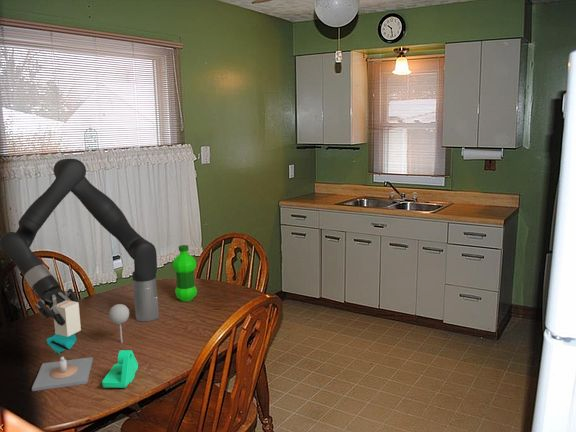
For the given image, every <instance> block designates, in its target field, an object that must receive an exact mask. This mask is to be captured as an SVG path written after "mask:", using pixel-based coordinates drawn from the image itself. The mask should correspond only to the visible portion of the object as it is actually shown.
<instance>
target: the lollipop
mask: <svg viewBox="0 0 576 432" xmlns="http://www.w3.org/2000/svg"><path fill="white" fill-rule="evenodd" d="M108 317H109V319H110V321H111V322H113V324H117V325H119V336H120V344H123V342H124V341H123V333H122V332H123V331H122V329H123V328H122V324H124V323H125V322H126V321H127V320H128V319H129V317H130V309H129V308H128V307H127V306H126V305H125V304H122V303H117V304H113V306H112V307H111V308H110V310H109V312H108Z"/></svg>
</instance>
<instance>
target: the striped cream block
mask: <svg viewBox="0 0 576 432" xmlns="http://www.w3.org/2000/svg"><path fill="white" fill-rule="evenodd" d="M56 309H57V310H58V314H59V313H60V315H61V316H62V317H63V319H64V320H65V324H64V325H62V326H61V325H59V324H58V323H57V322H56V321H55V319H54V318H53V323H54V332H55V334H58V335H62V336H66V337H68V336H70V335H72V334H74V333H76V334H77V333H79V332H81V331H82V328H81V327H82V326H81V312H80V304H79V301H78V302H74V301H70V300H69V301H64V302H61V303H59V304H57V306H56ZM53 312H54V311H53ZM79 312H80V313H79ZM55 334H54V335H55Z"/></svg>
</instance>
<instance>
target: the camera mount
mask: <svg viewBox="0 0 576 432" xmlns="http://www.w3.org/2000/svg"><path fill="white" fill-rule="evenodd" d="M138 369H139V363H138V361H137V358H136V357H135V354H134V352H133V350H131V349H130V350H129V349H128V350H126V349H125V350H124V349H123V350H122V349H121V350H119V351H118V355H117V363H115V364H113V366H112V367H111V369H110V370H109V372H107V374H106V375H105V376H104V378H103V379H102V380H101V383H102V387H103V388H117V389H118V388H121V389H122V388H124V389H125V388H127V386H128V385H130V384H131V383H132V382H133V380H134V378H135V376H136V372H137V371H138Z"/></svg>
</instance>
